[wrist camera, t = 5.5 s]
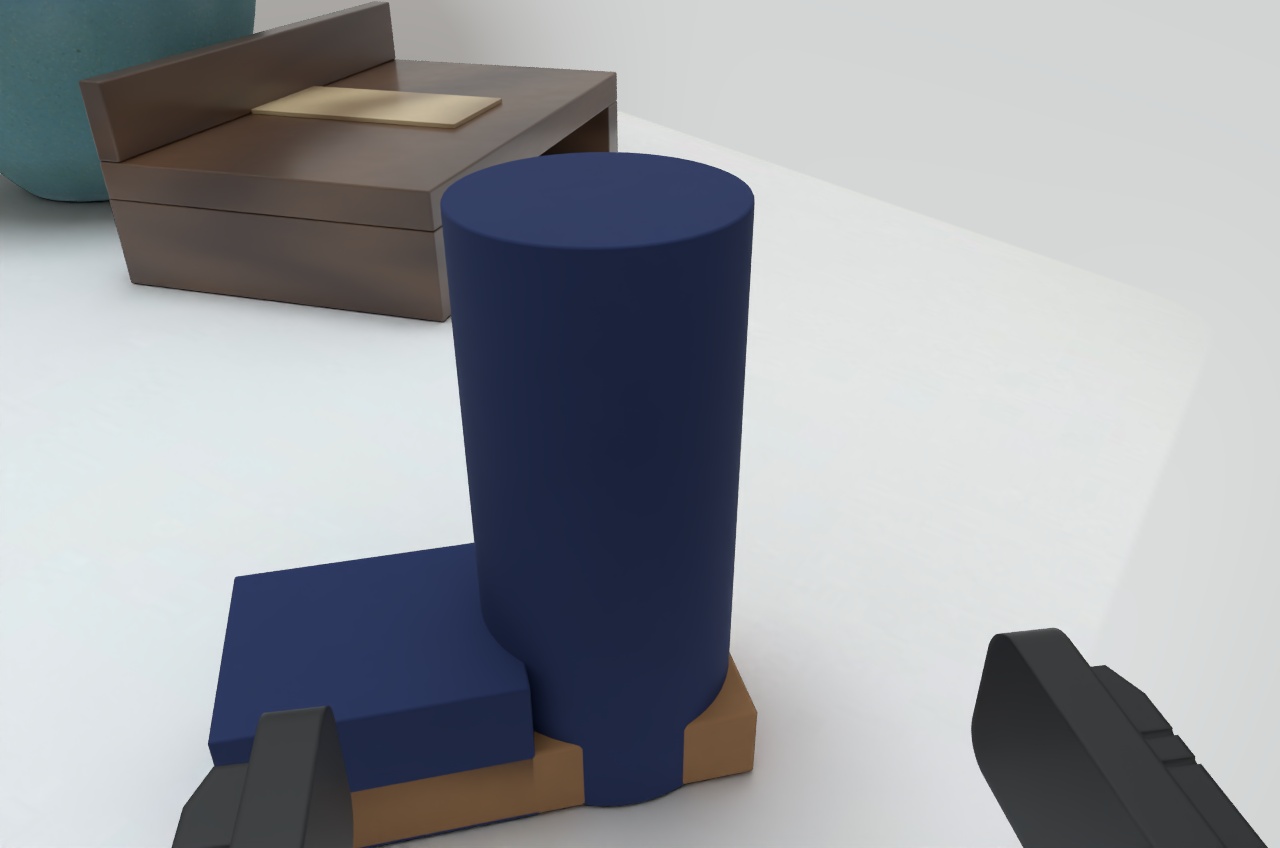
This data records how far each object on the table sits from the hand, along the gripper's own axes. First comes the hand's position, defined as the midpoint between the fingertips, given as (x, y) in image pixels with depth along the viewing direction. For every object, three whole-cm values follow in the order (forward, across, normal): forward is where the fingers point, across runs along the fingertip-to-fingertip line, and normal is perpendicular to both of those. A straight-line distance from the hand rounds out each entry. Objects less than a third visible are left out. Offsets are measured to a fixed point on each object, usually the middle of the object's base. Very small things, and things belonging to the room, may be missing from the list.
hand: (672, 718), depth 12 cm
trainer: (+6, +2, +7) cm, 9 cm away
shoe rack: (+40, +6, +7) cm, 41 cm away
